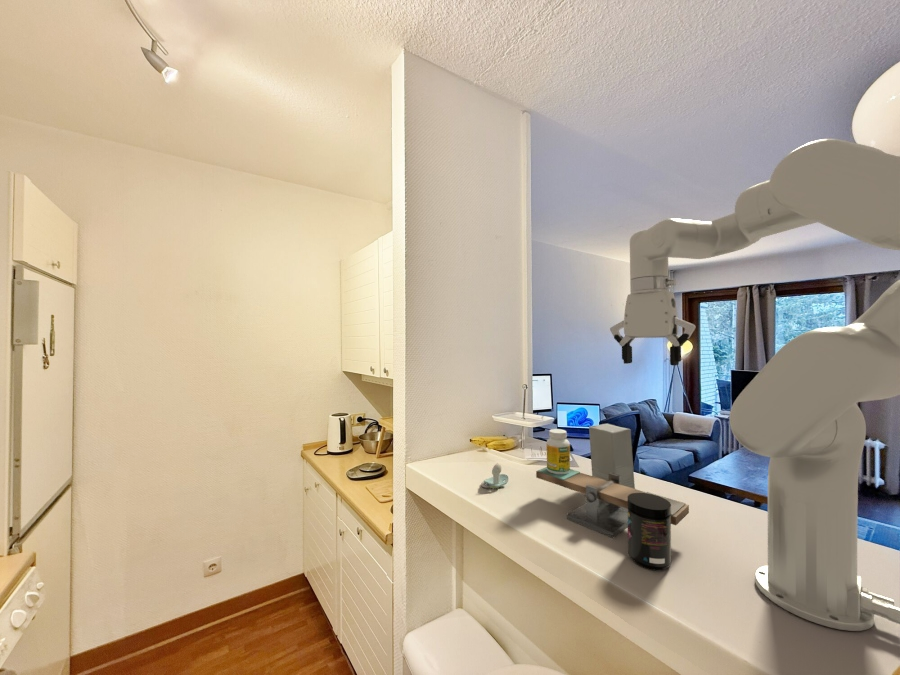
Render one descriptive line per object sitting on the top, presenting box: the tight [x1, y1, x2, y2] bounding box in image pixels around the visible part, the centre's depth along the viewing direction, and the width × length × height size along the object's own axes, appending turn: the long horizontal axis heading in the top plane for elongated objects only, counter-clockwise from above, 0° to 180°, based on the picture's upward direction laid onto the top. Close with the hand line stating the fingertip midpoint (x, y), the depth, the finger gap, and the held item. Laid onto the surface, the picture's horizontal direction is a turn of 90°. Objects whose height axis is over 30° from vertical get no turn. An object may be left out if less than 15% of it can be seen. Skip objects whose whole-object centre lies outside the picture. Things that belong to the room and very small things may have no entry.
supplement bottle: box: [546, 428, 571, 475], centre depth 88 cm, size 5×5×10 cm
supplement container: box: [627, 493, 672, 571], centre depth 65 cm, size 7×7×10 cm
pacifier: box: [480, 463, 509, 489], centre depth 97 cm, size 7×6×6 cm
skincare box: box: [588, 423, 636, 489], centre depth 95 cm, size 8×7×16 cm
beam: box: [535, 466, 690, 526], centre depth 80 cm, size 30×9×2 cm, turn 41°
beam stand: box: [566, 473, 628, 539], centre depth 80 cm, size 10×13×8 cm
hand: (650, 364), depth 82 cm, fingers open, 9 cm apart
